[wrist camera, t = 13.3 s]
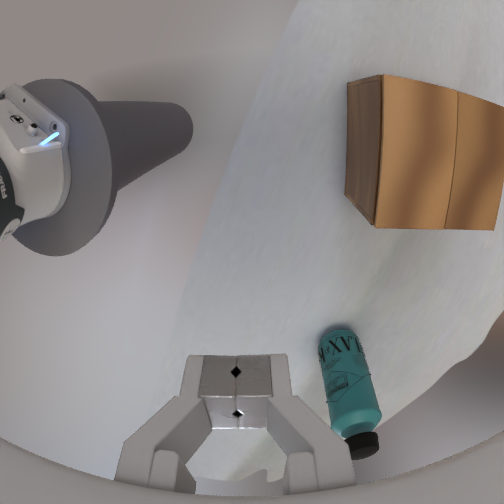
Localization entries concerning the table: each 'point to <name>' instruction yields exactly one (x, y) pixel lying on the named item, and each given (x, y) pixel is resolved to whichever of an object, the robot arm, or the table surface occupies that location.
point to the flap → (416, 154)
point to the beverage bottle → (350, 392)
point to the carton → (465, 163)
